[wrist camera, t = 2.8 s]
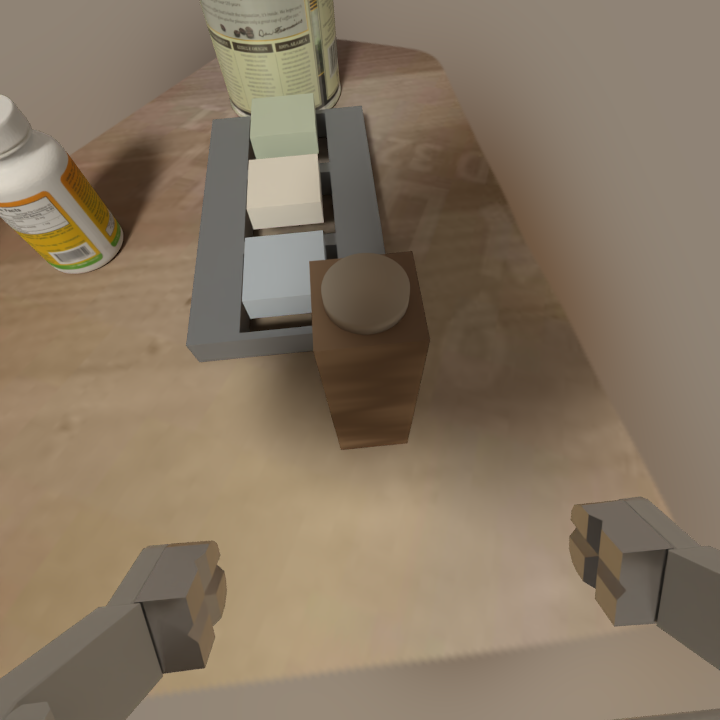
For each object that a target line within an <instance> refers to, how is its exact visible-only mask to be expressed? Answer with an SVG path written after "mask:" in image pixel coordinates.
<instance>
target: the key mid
mask: <svg viewBox="0 0 720 720" xmlns="http://www.w3.org/2000/svg"><path fill="white" fill-rule="evenodd" d="M246 209H247V212H248V215H249V218H250V220H251V223H252V226H253V229H263V228H274V227H284V226H295V225H305V224H315V223H324V218H323V204H322V190H321V176H320V169H319V162H318V155H317V154H308V155H297V156H287V157H276V158H266V159H255V160H249V167H248V187H247V208H246Z"/></svg>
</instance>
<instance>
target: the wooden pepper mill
mask: <svg viewBox="0 0 720 720" xmlns="http://www.w3.org/2000/svg"><path fill="white" fill-rule="evenodd" d="M309 269H310V290H311V311H312V333H313V352H314V356H315V359H316V363H317V366H318V370H319V373H320V377H321V380H322V384H323V388H324V391H325V395H326V398H327V402H328V405H329V409H330V412H331V416H332V420H333V423H334V427H335V430H336V434H337V437H338V441H339V444H340V448H341V450H345V449H355V448H364V447H374V446H384V445H394V444H403V443H407V442H408V437H409V433H410V428H411V424H412V419H413V414H414V410H415V405H416V401H417V396H418V392H419V387H420V383H421V378H422V374H423V369H424V365H425V360H426V356H427V351H428V347H429V342H430V338H429V333H428V328H427V323H426V318H425V313H424V308H423V303H422V298H421V293H420V288H419V283H418V278H417V273H416V268H415V263H414V258H413V253H412V251H410V252H400V253H389V254H375V253H358V254H353V255H350V256H347V257H345V258H338V259H328V260H317V261H309Z"/></svg>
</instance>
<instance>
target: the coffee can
mask: <svg viewBox="0 0 720 720" xmlns="http://www.w3.org/2000/svg"><path fill="white" fill-rule="evenodd" d="M199 1H200V4H201V7H202V10H203V13H204V17H205V20H206V23H207V26H208V30H209V33H210V36H211V39H212V42H213V45H214V48H215V52H216V55H217V58H218V61H219V65H220V68H221V71H222V74H223V77H224V80H225V84H226V87H227V90H228V93H229V97H230V102H231V106H232V108H233V110H234V111H235V112H236V113H237V114H238V115H239V116H240V117H247V116H251V105H252V99H254V98H265V97H276V96H286V95H297V94H308V93H313V96H314V103H315V110H322V109H331V108H332V107H333V106H334V105H335V104H336V102H337V100H338V98H339V96H340V92H341V85H340V80H339V69H338V56H337V43H336V31H335V18H334V6H333V0H199Z"/></svg>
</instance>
